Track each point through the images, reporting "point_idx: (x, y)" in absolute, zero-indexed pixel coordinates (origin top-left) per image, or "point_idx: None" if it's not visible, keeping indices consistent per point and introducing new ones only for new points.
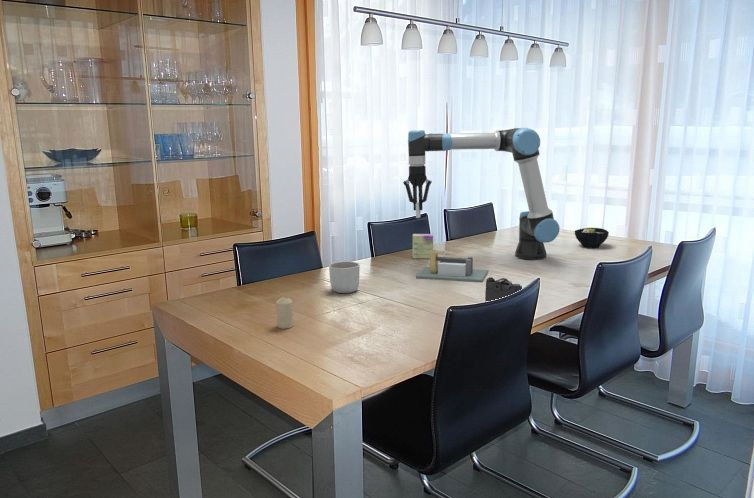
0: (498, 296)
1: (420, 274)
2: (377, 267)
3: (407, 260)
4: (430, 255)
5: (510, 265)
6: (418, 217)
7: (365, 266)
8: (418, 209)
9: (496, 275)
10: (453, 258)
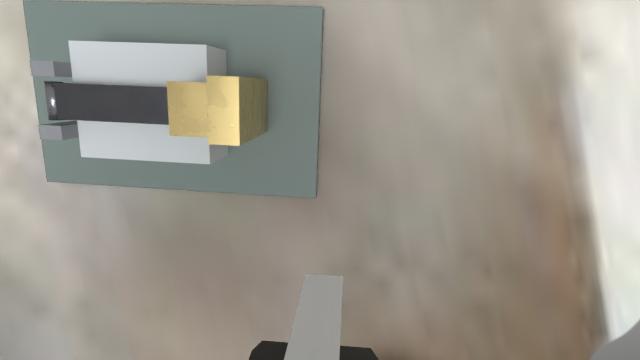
0: None
1: (306, 42)
2: (550, 184)
3: (427, 331)
4: (242, 77)
5: (5, 298)
6: (312, 275)
7: (616, 194)
8: (297, 335)
9: (10, 132)
10: (129, 101)
